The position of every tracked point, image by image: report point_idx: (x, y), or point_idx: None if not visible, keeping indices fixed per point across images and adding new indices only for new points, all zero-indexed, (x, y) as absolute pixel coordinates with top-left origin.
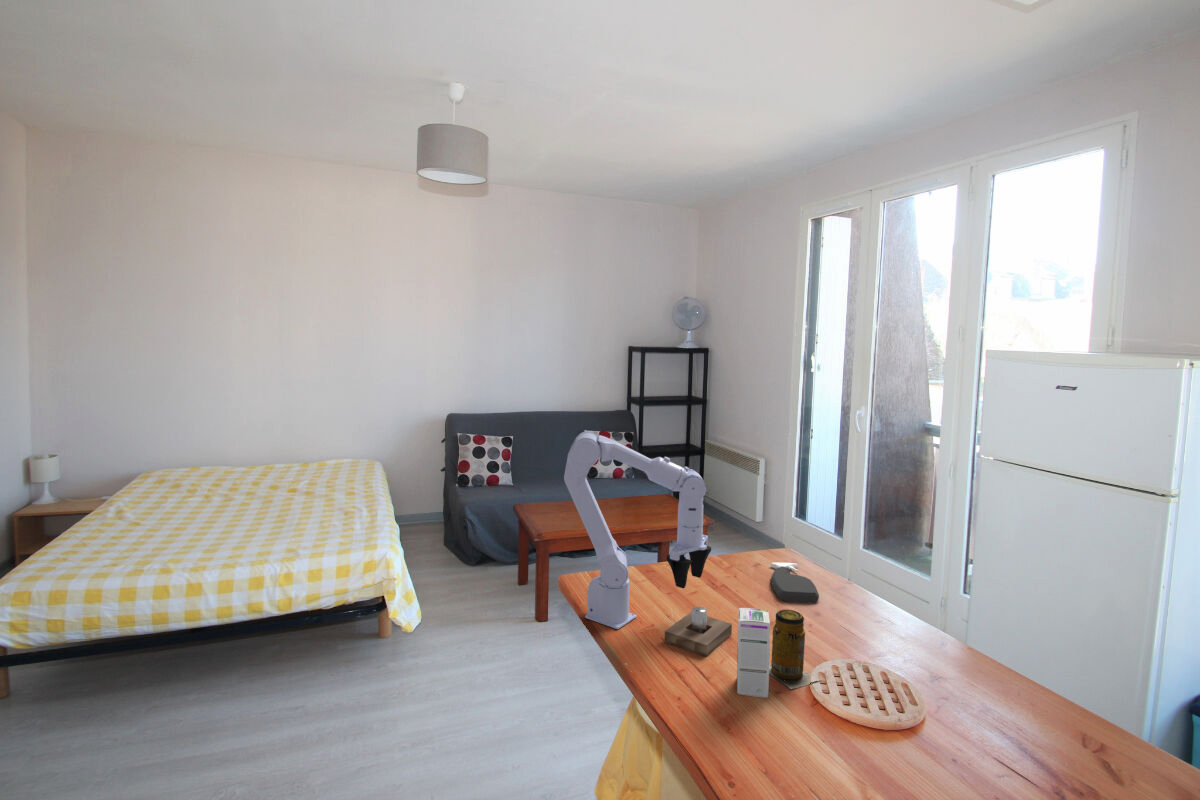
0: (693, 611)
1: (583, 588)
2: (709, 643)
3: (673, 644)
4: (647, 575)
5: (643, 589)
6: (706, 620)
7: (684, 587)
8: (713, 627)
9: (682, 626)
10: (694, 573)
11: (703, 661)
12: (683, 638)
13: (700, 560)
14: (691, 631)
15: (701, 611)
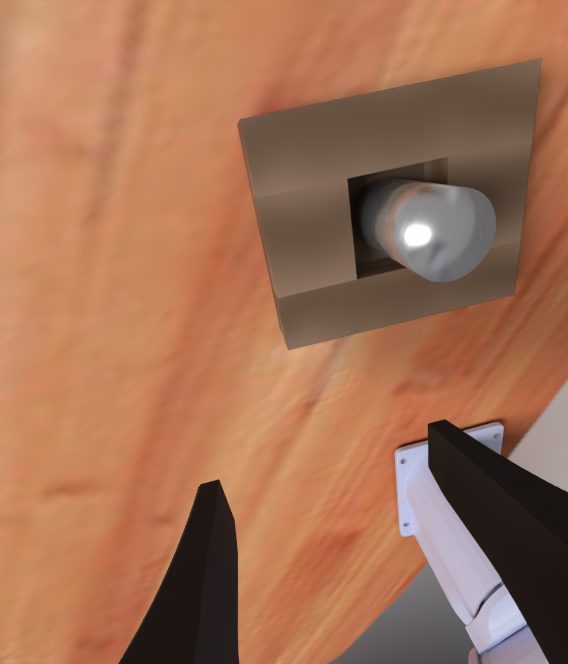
0: (486, 249)
1: (349, 617)
2: (511, 64)
3: None
4: (127, 626)
5: None
6: (415, 185)
7: (439, 422)
8: (352, 167)
9: None
10: (231, 527)
11: (537, 55)
12: (521, 202)
13: (211, 634)
14: None
15: (467, 213)
